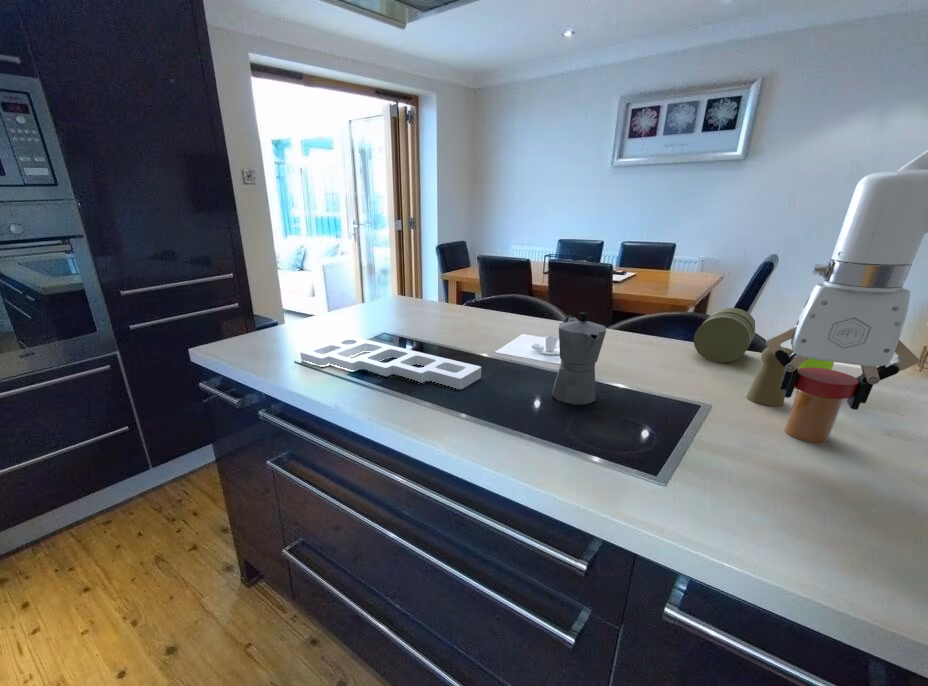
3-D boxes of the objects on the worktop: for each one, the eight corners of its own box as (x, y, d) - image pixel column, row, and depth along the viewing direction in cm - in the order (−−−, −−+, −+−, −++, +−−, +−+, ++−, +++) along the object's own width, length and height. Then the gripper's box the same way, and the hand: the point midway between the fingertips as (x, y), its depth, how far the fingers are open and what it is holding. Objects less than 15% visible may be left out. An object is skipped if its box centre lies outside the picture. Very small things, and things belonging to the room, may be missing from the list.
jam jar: (821, 429, 77) (840, 378, 73) (833, 445, 72) (855, 391, 69) (780, 424, 79) (797, 373, 76) (789, 439, 75) (808, 386, 71)
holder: (481, 377, 103) (482, 366, 102) (436, 404, 91) (435, 392, 90) (350, 344, 130) (349, 335, 129) (300, 361, 117) (299, 352, 116)
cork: (788, 407, 85) (806, 354, 81) (751, 403, 87) (767, 351, 83) (777, 395, 90) (793, 344, 86) (742, 392, 92) (757, 342, 88)
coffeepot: (609, 408, 87) (623, 319, 80) (562, 410, 86) (572, 321, 79) (579, 379, 101) (589, 301, 94) (538, 381, 101) (545, 303, 94)
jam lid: (793, 392, 63) (798, 378, 62) (790, 377, 68) (794, 364, 67) (857, 403, 59) (863, 388, 58) (849, 386, 64) (854, 373, 63)
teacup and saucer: (527, 352, 119) (528, 337, 117) (537, 344, 125) (539, 330, 123) (559, 357, 114) (561, 342, 113) (568, 349, 120) (570, 335, 119)
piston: (749, 354, 113) (762, 311, 109) (742, 367, 105) (755, 321, 101) (699, 345, 120) (709, 305, 116) (689, 357, 112) (699, 314, 108)
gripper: (782, 275, 59) (745, 396, 66) (975, 286, 50) (909, 425, 57) (778, 267, 65) (745, 379, 72) (952, 276, 55) (894, 404, 62)
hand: (818, 399), depth 64 cm, fingers closed on jam lid, 6 cm apart
